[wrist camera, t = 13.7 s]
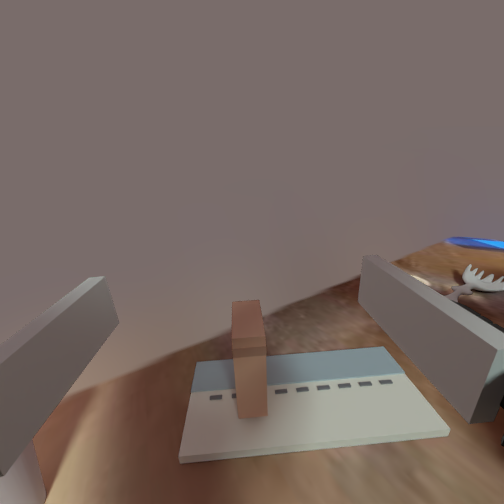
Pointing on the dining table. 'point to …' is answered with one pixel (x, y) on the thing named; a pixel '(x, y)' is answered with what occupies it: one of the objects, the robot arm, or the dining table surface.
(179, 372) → the dining table surface
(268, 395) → the board
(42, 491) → the smoothie
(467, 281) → the spoon
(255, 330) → the small tan carton
